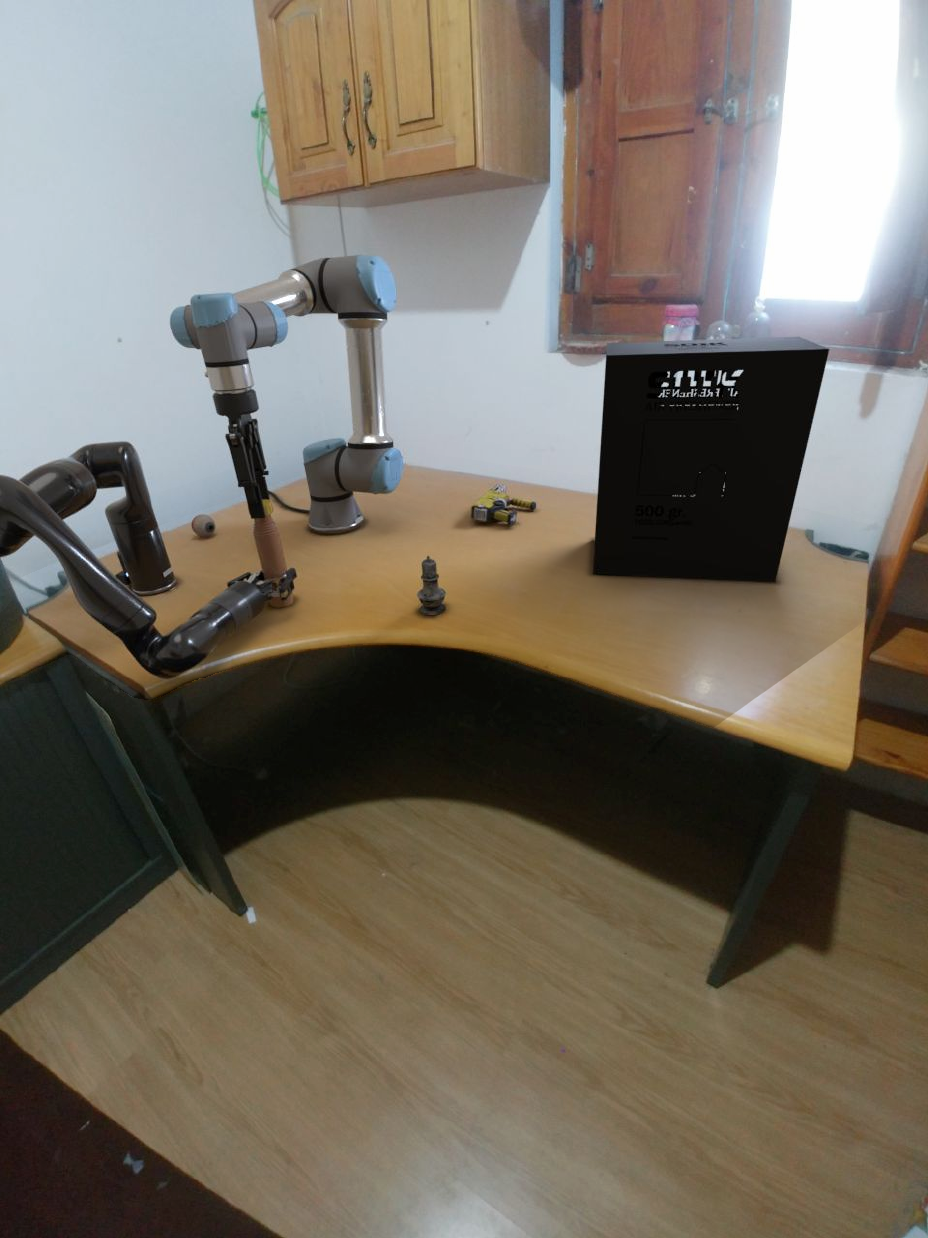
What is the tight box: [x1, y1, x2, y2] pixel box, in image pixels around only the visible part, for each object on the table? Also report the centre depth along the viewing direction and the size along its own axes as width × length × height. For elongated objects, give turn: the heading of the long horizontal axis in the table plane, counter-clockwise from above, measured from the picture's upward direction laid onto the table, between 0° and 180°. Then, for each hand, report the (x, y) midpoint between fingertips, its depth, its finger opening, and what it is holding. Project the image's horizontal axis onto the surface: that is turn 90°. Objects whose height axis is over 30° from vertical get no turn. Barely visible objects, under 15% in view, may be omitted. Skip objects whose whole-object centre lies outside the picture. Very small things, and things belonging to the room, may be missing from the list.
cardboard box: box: [592, 336, 830, 583], centre depth 128 cm, size 38×20×45 cm, turn 78°
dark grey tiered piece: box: [416, 555, 447, 616], centre depth 121 cm, size 6×6×12 cm
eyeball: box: [191, 514, 216, 538], centre depth 166 cm, size 6×6×6 cm
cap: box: [247, 499, 274, 515], centre depth 120 cm, size 5×5×2 cm
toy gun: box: [470, 483, 537, 527], centre depth 170 cm, size 5×24×15 cm
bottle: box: [252, 513, 295, 609], centre depth 125 cm, size 5×5×22 cm
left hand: (282, 570), depth 130 cm, fingers closed on bottle, 5 cm apart
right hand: (261, 512), depth 120 cm, fingers closed on cap, 4 cm apart
